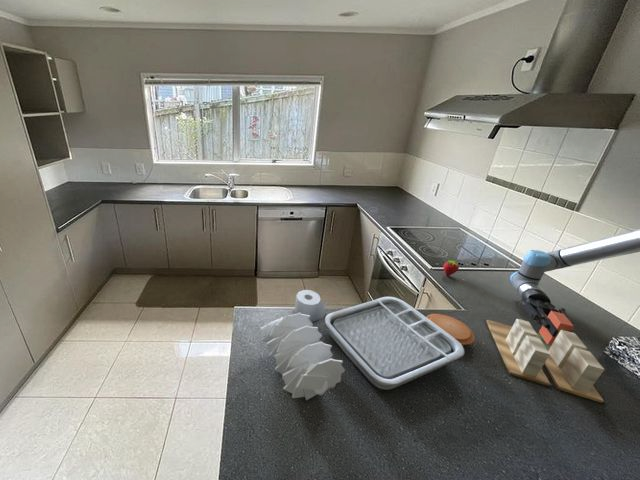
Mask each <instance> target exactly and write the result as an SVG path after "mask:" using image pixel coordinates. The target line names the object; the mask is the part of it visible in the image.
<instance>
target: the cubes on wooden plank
mask: <svg viewBox="0 0 640 480" xmlns="http://www.w3.org/2000/svg"><path fill="white" fill-rule="evenodd" d="M572 332H573V331H572ZM572 332H568V331H564V330H561V331H560V332H559V334H558V336H557V337H556V339H555V341H554V342H553V344H552V346H549V345H547V343H546V342H545V340H544V339H543V337H542V336H541V334H540V333H539V332H536V333H537V337H536V338H540V340H541V341H542V343H543V344H544V346H545V347H546V349H547V351H548V352H549V354H550V355H549V357H548V358H547V360H546V362H545V363H544V365H543V367H544V368H545V369H546V372H547V373H548V375H549V377H550V378H551V380H552V382H553V383H554V385H555V387H556V388H557V390H560V391H562V392H565V393H569V394H572V395H575V396H578V397H582V398H585V399H587V400H592V401H593V402H594V401H595V402H597V403H602V404H603V403H604V401H605V400H604V399H603V397H602V396H601V395H600V393H599V392H598V390H597V389H596V388H595V386H594V385H595V384H596V382H597V381H598V379H599V378H600V376H601V375H602V374H603V373H604V371H605V368H604V367H603V366H602V365H601V363H600V362H599V361H598V359H597V358H596V357H595V356H594V355H593V353H592V352H591V351H589V350H587V349H588V347H587V346H586V345H585V344H584V342H582V340H581V339H580V337H579V336H578V335H577V333H576V332H573V333H572Z"/></svg>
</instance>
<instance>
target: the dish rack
mask: <svg viewBox="0 0 640 480" xmlns="http://www.w3.org/2000/svg"><path fill="white" fill-rule="evenodd" d="M324 317H325V318H324V324H325V325H326V327H327V330H328V334H329V335H330V336H331V338H332V339H333V341H334V342H336V344H337V345H338V347H340V349H341V350H342V352H344V353H345V355H346V356H347V357H348V358H349V359H350V361H351V362H352V363H353V364H354V365H355V367H356V368H357V369H359V371H360V372H361V373H362V374H363V375H364V376H365V378H367V380H368V381H369V382H370V383H371V384H372V385H374V387H376V388H378V389H380V390H385V391H386V390H392V389H395V388H398V387H400V386H402V385H405V384H407V383H409V382H412V381H414V380H415V379H417V378H420V377H423V376H424V375H427V374H430V373H431V372H434V371H436V370H438V369H440V368H443V367H445V366H447V365H448V364H450V363H452V362H454V361H456V360H459V359H462V357H463V356H464V355H465V348H464V346H462V345H461V343H459V342H458V341H457V340H456V339H455V338H453V337H452V336H451V335H450V334H448V333H447V332H446V331H444V330H443V329H441V328H440V327H439V326H437V325H436V324H435V323H433V322H432V321H431V320H429V319H428V318H426V317H427V316H425V315H424V314H423V313H421V312H420V311H418V310H417V309H415V307H413V306H411V305H410V304H408V303H407V302H405V301H404V300H402V299H400V298H397V297H394V296H382V297H379V298H376V299H374V300H370V301H367V302H363V303H360V304H357V305H353V306H350V307H347V308H343V309H339V310H336V311H333V312H330V313H328V314H326V315H325V316H324Z"/></svg>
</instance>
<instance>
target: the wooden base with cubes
mask: <svg viewBox="0 0 640 480" xmlns="http://www.w3.org/2000/svg"><path fill="white" fill-rule="evenodd" d="M485 323H486V325H487V327H488V329H489V331H490V333H491V336H492V338H493V340H494V343H495V346H496V348H497V349H498V352H499V354H500V356H501V358H502V361H503V363H504V365H505V367H506V369H507V372H508V375H512V376H515V377H517V378H521V379H524V380H528V381H530V382H533V383H537V384H540V385H544V386H546V387H550V386H551V385H552V384H551V383H550V381H549V379H548V377H547V375H546V374H545V372H544V370H543V367H544V363H545V362H546V360H547V358H548V357H549V355H550V354H549V352H548V351H547V349H546V347H545V346H544V344H543V343H542V341H541V340H540V338H536V337H537V333H538V332H536V330H535V329H534V327H533V325H532V324H531V322H530V321H528V320H524V319H521V318H516V319H515V320H514V323H513V325H508V324H505V323H501V322H497V321H494V320H490V319H486V321H485Z"/></svg>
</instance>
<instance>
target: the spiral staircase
mask: <svg viewBox="0 0 640 480" xmlns="http://www.w3.org/2000/svg"><path fill="white" fill-rule="evenodd" d="M309 317H310V315H305V314H301V313H300V312H299V313H296V314H295V313H293V314H290V315H288V314H287V315H285V316H284V317H282V316H280V317H279V318H277V319H275V320H272V321H271V322H269V323H266V324H265V325H263V326H261V327H260V331H261V334H262V338H261V341H262V342H264V343H265V344H266V345H267V348H268V349H269V354H268V356H269V357H271V358H272V359H275V364H276V366H275V367H274V370H275V371H277V372H278V373H280V375H282V376H281V379H282V380H283V382H284V385H285V386H283V387H282V388H283V390H284V391H286V392H288V393H290V394H292V395H291V398H292V399H297V398H305V401H308V400H309V399H311V398H314V397H315V396H317V395H319V396H323V395H324V394H325V392H327V390H328V389H329V388H335V387H336V385H337V384H339V383H341V381H342V374H343V373H345V371H346V369H345V368H344V367H343V365H342V364H343V363H344V362H343V360H341V359H333V358H332V357H333V356H334V354H333V353H332V351H331V348H332V345H331V344H327V343H325V342H324V341H321V340H320V339H322V337H323V334H322V333H321V332H320V331H319V327H318V326H314V323H313V322H311V321H310V320H309Z"/></svg>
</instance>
